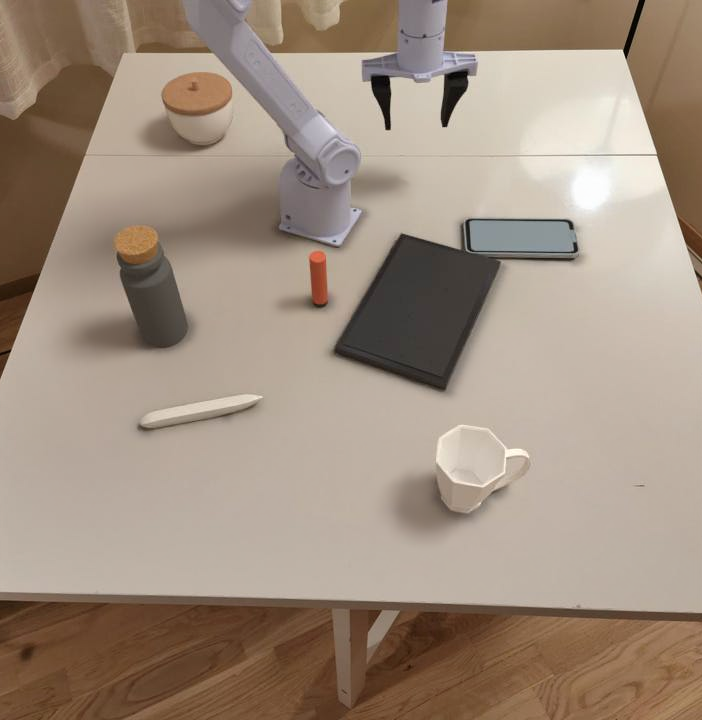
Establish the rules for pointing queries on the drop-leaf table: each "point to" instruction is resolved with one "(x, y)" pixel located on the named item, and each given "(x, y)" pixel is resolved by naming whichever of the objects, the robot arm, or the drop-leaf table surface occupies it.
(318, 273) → the orange cylinder
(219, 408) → the pen
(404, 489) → the drop-leaf table surface
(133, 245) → the bottle
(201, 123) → the trinket box
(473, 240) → the smartphone
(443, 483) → the cup
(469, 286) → the tablet
